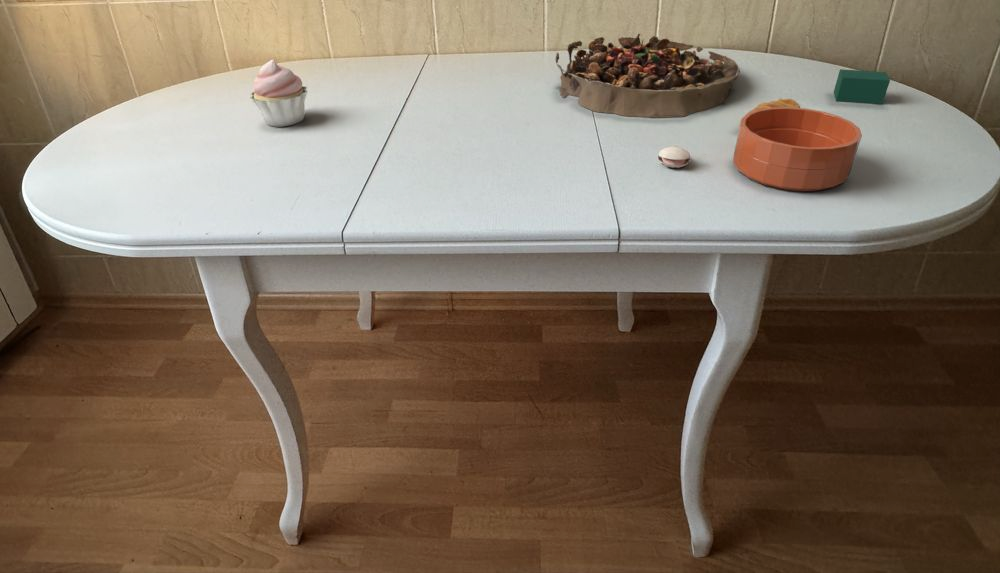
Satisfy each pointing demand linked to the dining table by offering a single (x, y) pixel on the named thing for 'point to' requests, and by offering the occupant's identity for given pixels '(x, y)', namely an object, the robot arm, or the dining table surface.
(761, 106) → the pastry
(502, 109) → the dining table surface
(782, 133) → the bowl
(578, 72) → the food dish
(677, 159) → the macaroon
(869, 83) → the sponge
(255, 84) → the cupcake
